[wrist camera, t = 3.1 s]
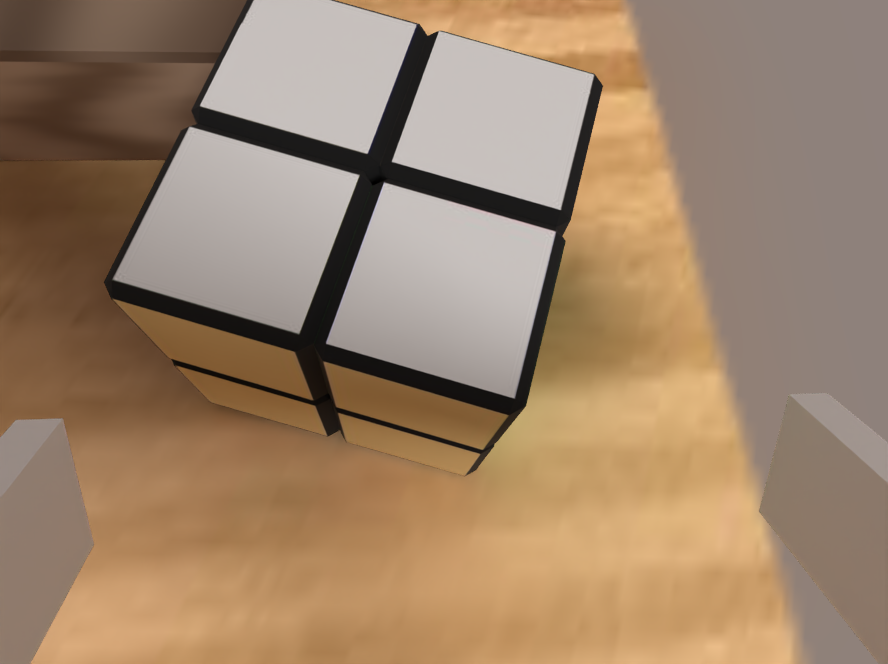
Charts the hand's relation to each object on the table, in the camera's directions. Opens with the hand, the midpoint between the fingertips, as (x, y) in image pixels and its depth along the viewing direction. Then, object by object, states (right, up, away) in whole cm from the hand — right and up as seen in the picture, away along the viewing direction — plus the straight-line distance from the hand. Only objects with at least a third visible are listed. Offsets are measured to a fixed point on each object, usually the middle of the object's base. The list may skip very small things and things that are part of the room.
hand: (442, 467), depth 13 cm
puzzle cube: (-2, +3, +14) cm, 14 cm away
